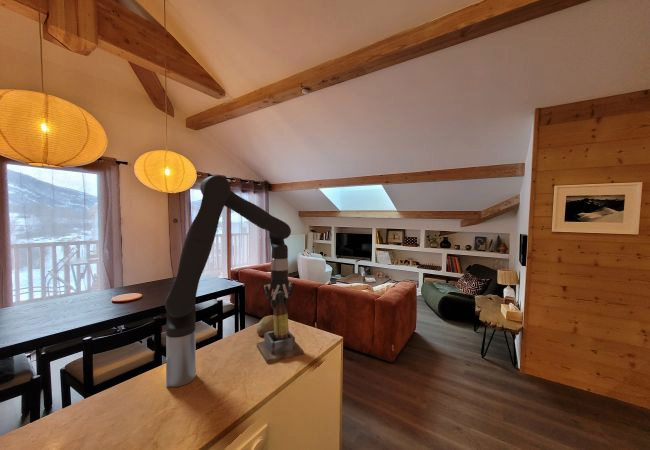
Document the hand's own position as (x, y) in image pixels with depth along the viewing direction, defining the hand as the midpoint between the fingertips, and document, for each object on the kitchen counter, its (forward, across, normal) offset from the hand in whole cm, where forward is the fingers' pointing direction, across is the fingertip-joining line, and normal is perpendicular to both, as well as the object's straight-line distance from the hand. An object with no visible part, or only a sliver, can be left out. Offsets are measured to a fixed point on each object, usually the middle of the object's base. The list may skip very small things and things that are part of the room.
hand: (279, 306), depth 115 cm
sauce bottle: (+14, +1, 0) cm, 14 cm away
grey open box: (+19, 0, 0) cm, 19 cm away
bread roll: (+20, +2, +20) cm, 28 cm away
